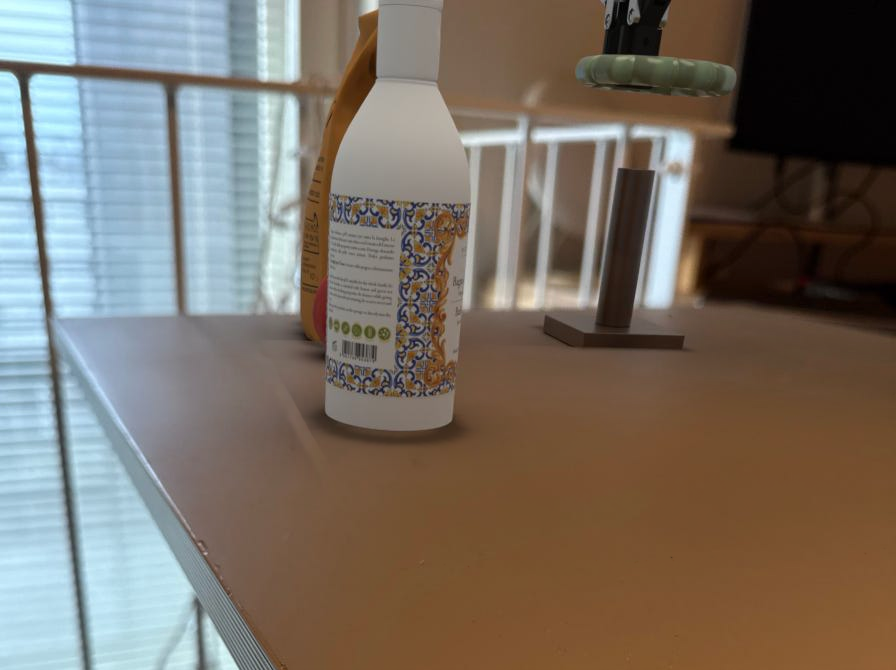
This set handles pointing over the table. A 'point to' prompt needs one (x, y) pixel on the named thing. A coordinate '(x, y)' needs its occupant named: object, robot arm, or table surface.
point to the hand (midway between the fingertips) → (625, 86)
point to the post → (619, 278)
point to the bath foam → (398, 238)
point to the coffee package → (340, 116)
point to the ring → (656, 75)
